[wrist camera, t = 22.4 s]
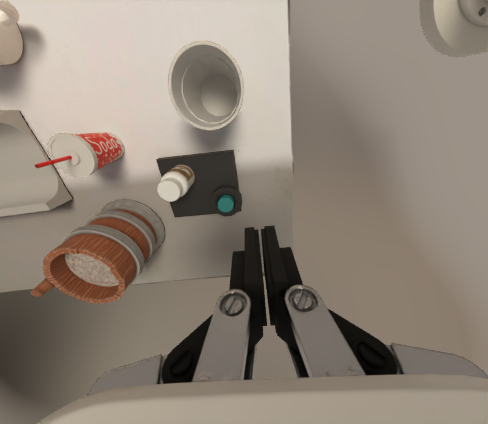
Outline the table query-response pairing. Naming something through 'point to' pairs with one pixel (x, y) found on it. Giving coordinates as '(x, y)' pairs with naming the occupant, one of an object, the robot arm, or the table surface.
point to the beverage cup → (83, 152)
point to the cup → (206, 85)
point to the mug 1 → (9, 34)
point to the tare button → (226, 203)
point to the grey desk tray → (25, 170)
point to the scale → (205, 182)
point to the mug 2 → (103, 253)
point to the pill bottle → (176, 183)
